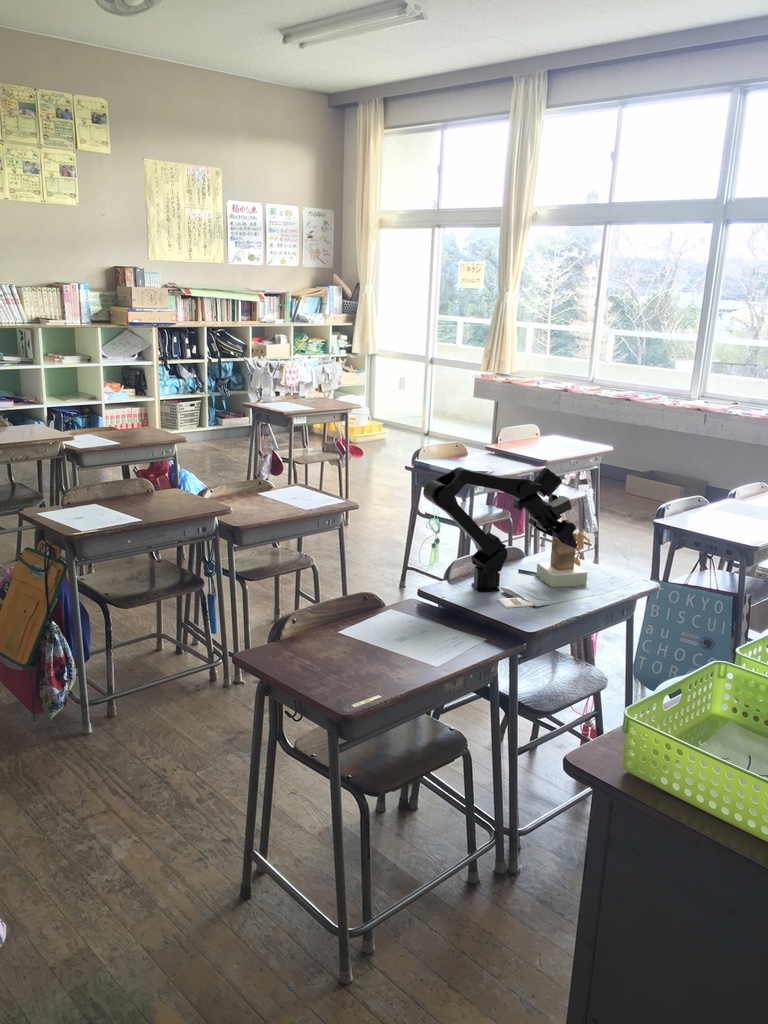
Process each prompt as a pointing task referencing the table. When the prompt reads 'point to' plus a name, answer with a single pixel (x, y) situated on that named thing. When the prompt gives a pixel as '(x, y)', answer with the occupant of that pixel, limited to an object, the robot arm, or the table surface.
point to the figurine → (580, 546)
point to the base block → (561, 575)
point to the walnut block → (562, 555)
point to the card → (514, 602)
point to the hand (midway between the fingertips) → (567, 542)
